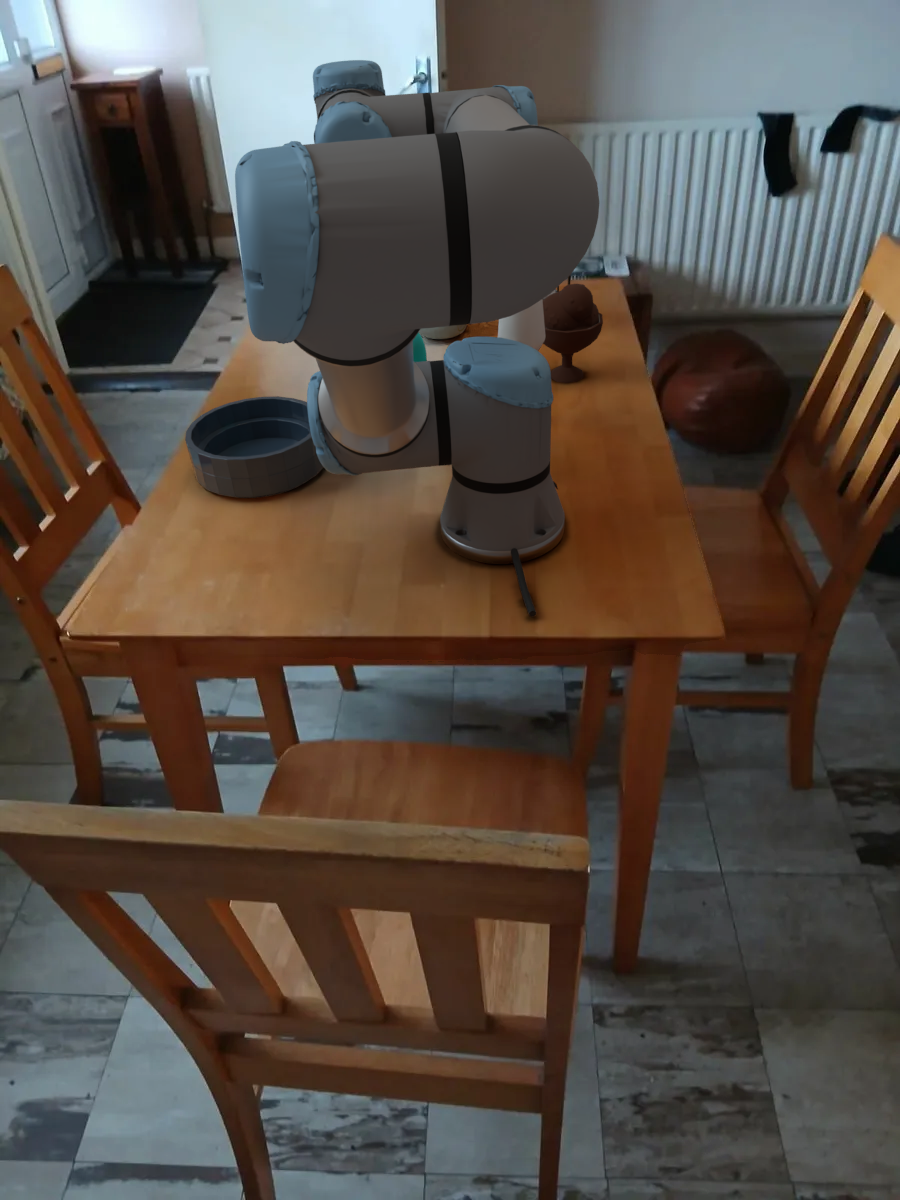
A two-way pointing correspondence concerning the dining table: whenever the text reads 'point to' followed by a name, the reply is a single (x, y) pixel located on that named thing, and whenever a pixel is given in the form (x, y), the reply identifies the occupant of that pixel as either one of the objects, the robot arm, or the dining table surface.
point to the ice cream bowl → (570, 327)
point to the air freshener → (442, 331)
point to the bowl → (253, 447)
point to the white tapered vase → (525, 326)
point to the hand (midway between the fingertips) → (382, 392)
